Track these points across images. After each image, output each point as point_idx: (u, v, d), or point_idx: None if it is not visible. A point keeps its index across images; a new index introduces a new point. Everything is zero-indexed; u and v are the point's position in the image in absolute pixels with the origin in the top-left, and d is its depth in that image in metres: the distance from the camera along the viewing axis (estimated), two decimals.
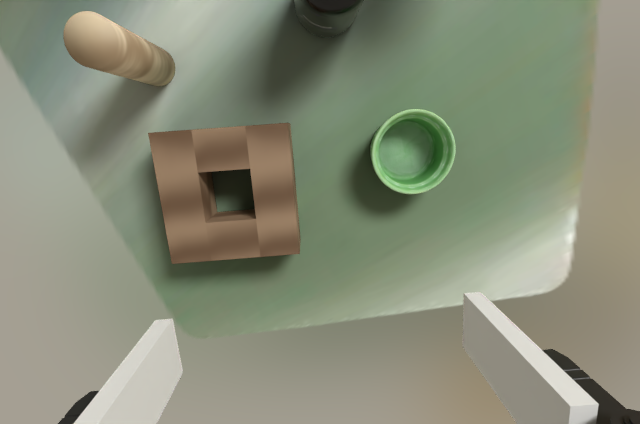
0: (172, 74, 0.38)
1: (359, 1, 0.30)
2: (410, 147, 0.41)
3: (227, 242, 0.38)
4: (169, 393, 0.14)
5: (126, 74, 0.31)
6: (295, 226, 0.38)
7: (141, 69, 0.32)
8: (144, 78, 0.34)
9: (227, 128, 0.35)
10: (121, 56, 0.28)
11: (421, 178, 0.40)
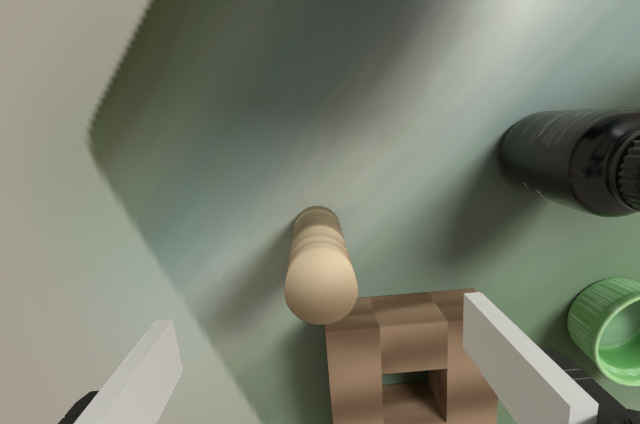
0: None
1: None
2: (619, 314, 0.33)
3: None
4: (169, 393, 0.14)
5: None
6: None
7: None
8: None
9: (425, 324, 0.28)
10: None
11: (635, 354, 0.33)
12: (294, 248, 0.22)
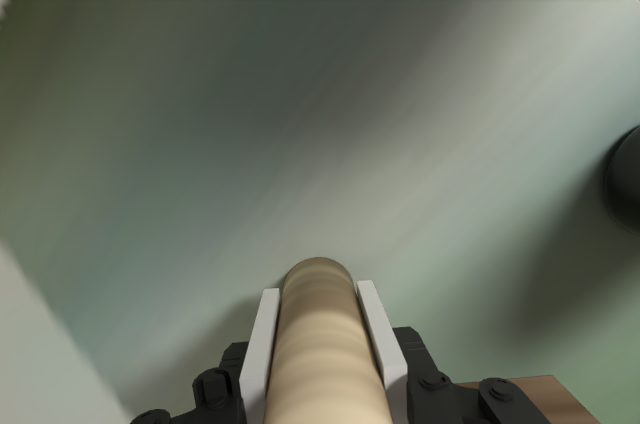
0: None
1: None
2: None
3: None
4: None
5: None
6: None
7: None
8: None
9: None
10: None
11: None
12: (277, 373, 0.11)
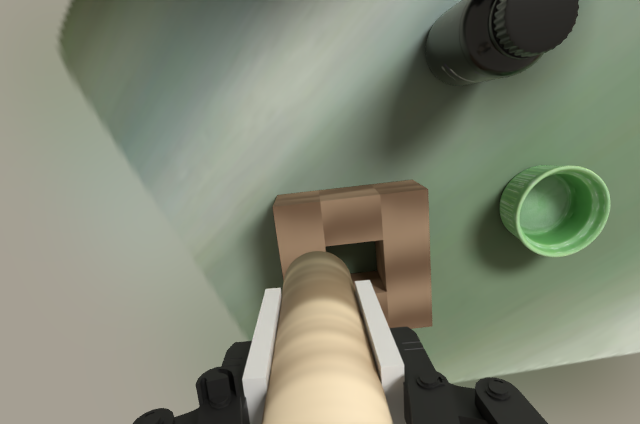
0: None
1: (537, 60, 0.26)
2: (545, 200, 0.37)
3: None
4: None
5: None
6: (429, 298, 0.34)
7: None
8: None
9: (360, 198, 0.31)
10: None
11: (560, 234, 0.36)
12: (279, 353, 0.12)
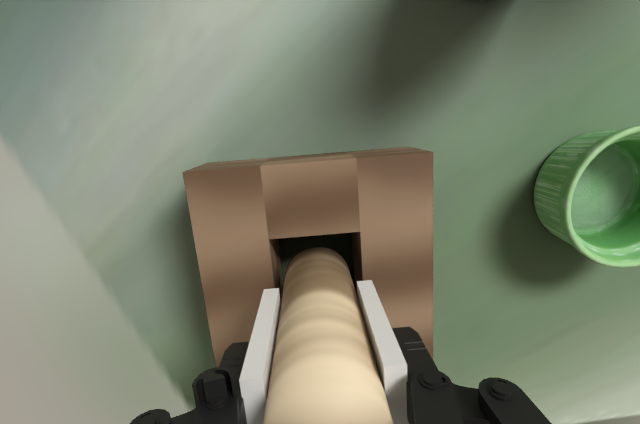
0: None
1: None
2: (601, 184, 0.25)
3: None
4: None
5: None
6: (430, 325, 0.22)
7: None
8: None
9: (324, 162, 0.20)
10: None
11: (623, 234, 0.25)
12: (281, 339, 0.13)
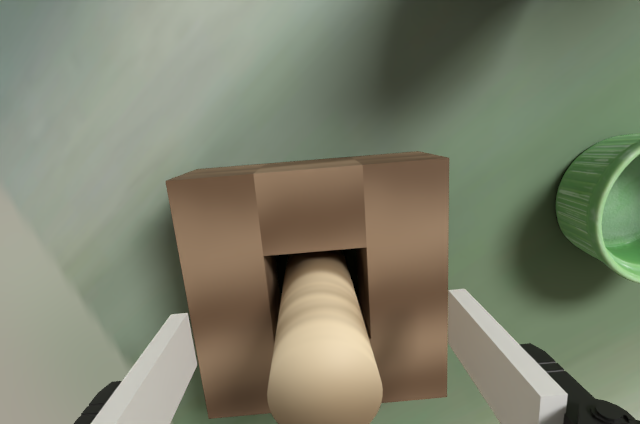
0: None
1: None
2: (630, 192, 0.23)
3: None
4: (185, 385, 0.15)
5: None
6: (444, 350, 0.20)
7: None
8: None
9: (326, 170, 0.17)
10: None
11: None
12: (284, 311, 0.15)
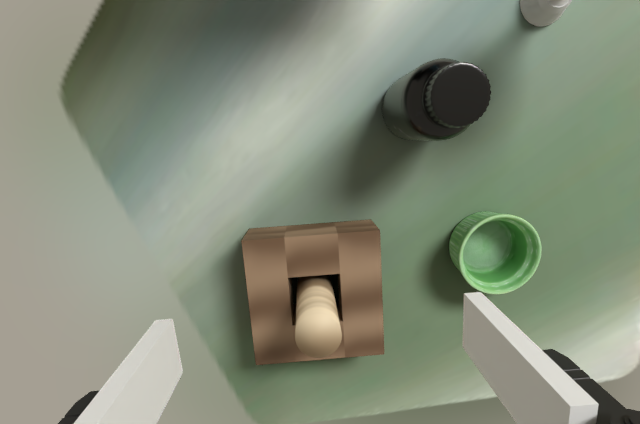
0: None
1: (466, 128, 0.31)
2: (489, 242, 0.41)
3: None
4: (169, 393, 0.14)
5: None
6: (381, 328, 0.38)
7: None
8: None
9: (320, 236, 0.35)
10: None
11: (502, 273, 0.41)
12: (300, 304, 0.33)
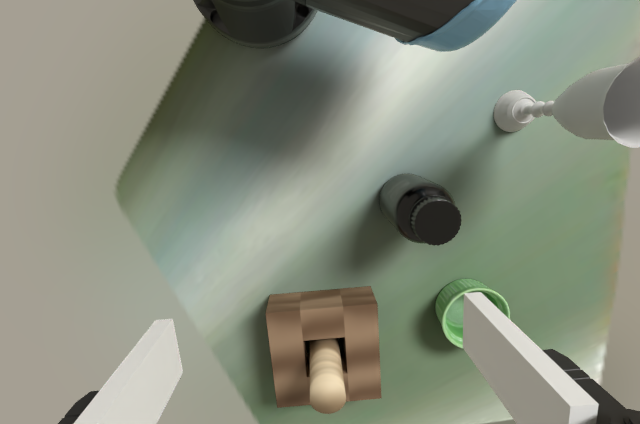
0: None
1: None
2: None
3: None
4: (169, 393, 0.14)
5: None
6: (379, 378, 0.47)
7: None
8: None
9: (328, 308, 0.44)
10: None
11: None
12: (313, 367, 0.42)
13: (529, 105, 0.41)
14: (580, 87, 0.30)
